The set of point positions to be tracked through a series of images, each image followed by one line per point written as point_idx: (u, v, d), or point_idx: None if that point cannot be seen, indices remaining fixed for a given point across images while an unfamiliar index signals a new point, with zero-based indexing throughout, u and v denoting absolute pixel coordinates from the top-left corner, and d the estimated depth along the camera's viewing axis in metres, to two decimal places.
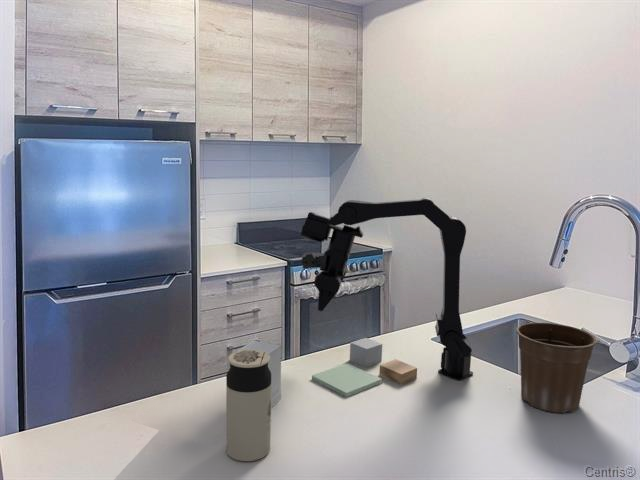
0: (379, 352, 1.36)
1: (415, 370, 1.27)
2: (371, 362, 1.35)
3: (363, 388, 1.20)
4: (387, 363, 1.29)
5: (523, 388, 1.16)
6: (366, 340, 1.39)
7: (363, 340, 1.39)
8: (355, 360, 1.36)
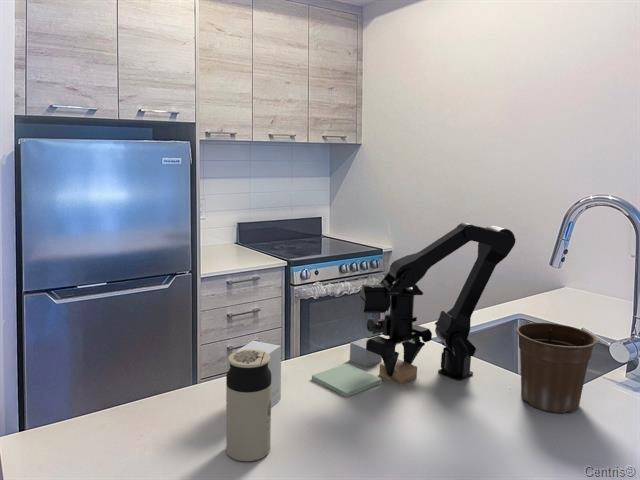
0: None
1: (415, 369, 1.27)
2: (371, 363, 1.35)
3: (363, 388, 1.20)
4: None
5: (523, 388, 1.16)
6: (366, 340, 1.39)
7: (363, 340, 1.39)
8: (355, 360, 1.36)
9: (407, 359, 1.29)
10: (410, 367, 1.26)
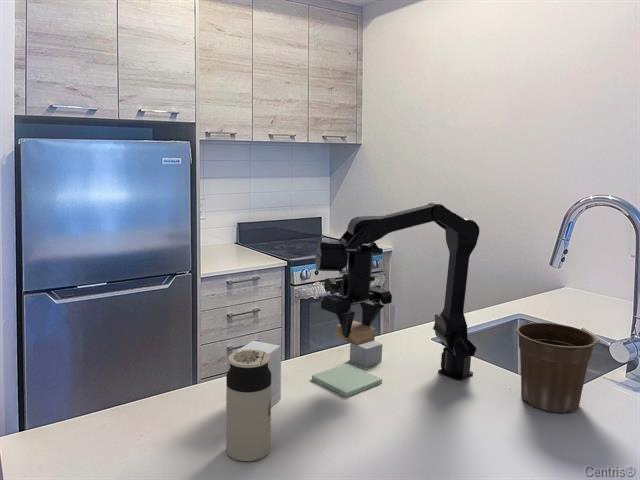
0: (379, 352, 1.36)
1: (373, 330, 1.22)
2: (371, 363, 1.35)
3: (363, 388, 1.20)
4: None
5: (523, 388, 1.16)
6: None
7: None
8: (355, 360, 1.36)
9: (365, 321, 1.25)
10: (367, 328, 1.22)
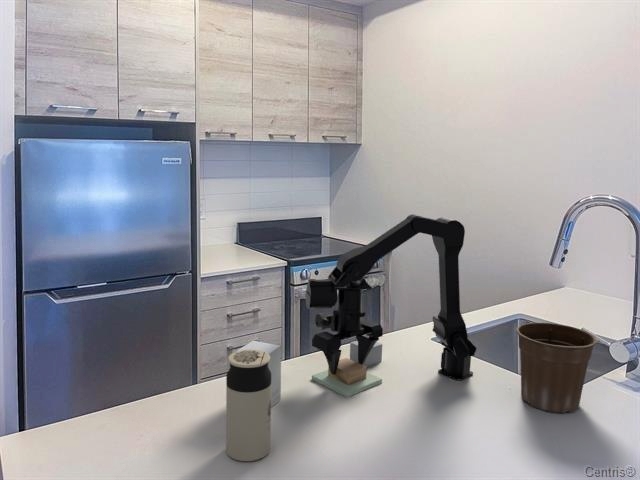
0: (379, 352, 1.36)
1: (364, 369, 1.23)
2: (371, 363, 1.35)
3: (363, 388, 1.20)
4: None
5: (523, 388, 1.16)
6: None
7: None
8: (355, 360, 1.36)
9: (361, 354, 1.27)
10: (359, 367, 1.23)
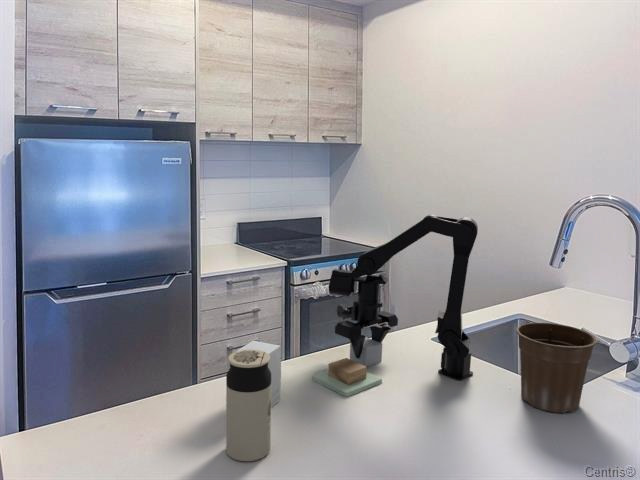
0: (379, 352, 1.36)
1: (364, 369, 1.23)
2: (371, 362, 1.35)
3: (363, 388, 1.20)
4: (336, 362, 1.26)
5: (523, 388, 1.16)
6: (366, 339, 1.39)
7: None
8: (355, 359, 1.36)
9: None
10: (359, 367, 1.23)
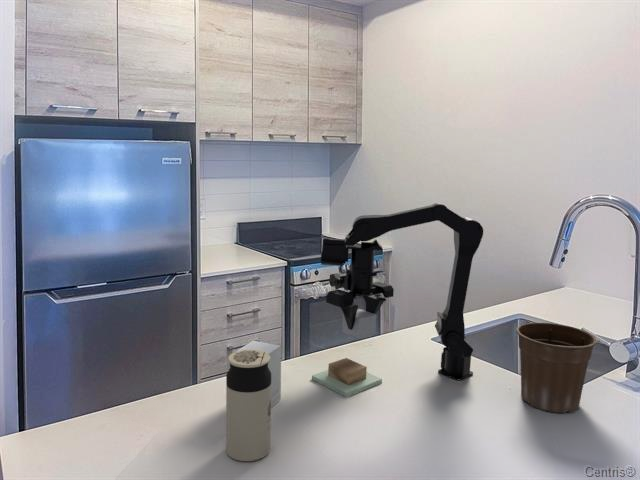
0: (373, 323, 1.29)
1: (364, 369, 1.23)
2: (364, 334, 1.28)
3: (363, 388, 1.20)
4: (336, 362, 1.26)
5: (523, 388, 1.16)
6: (360, 311, 1.32)
7: (357, 311, 1.32)
8: (348, 331, 1.29)
9: None
10: (359, 367, 1.23)
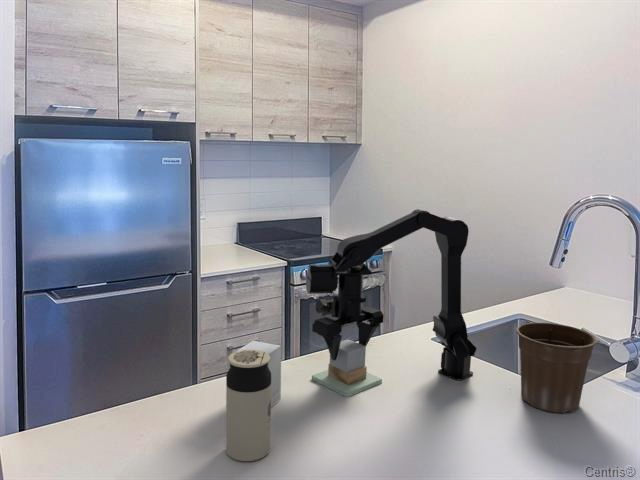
0: (362, 356, 1.23)
1: (364, 369, 1.23)
2: (353, 367, 1.21)
3: (363, 388, 1.20)
4: None
5: (523, 388, 1.16)
6: (348, 342, 1.25)
7: (345, 342, 1.25)
8: (335, 364, 1.23)
9: (362, 340, 1.26)
10: None
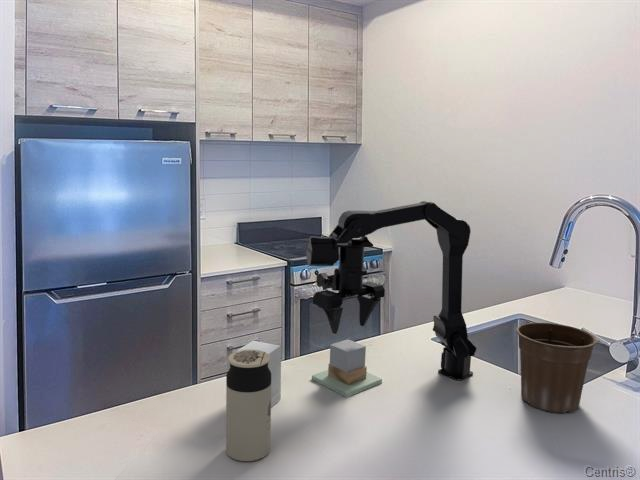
0: (362, 356, 1.23)
1: (364, 369, 1.23)
2: (353, 367, 1.21)
3: (363, 388, 1.20)
4: None
5: (523, 388, 1.16)
6: (348, 342, 1.25)
7: (345, 342, 1.25)
8: (335, 364, 1.23)
9: (363, 315, 1.25)
10: None
